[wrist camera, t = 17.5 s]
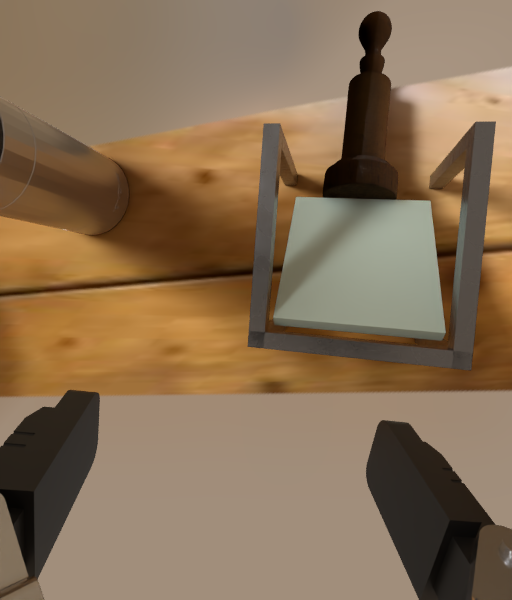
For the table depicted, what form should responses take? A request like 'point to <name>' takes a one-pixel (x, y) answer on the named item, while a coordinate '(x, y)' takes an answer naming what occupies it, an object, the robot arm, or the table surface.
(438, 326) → the trapdoor
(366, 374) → the table surface
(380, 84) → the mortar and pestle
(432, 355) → the frame
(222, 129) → the table surface
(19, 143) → the robot arm
